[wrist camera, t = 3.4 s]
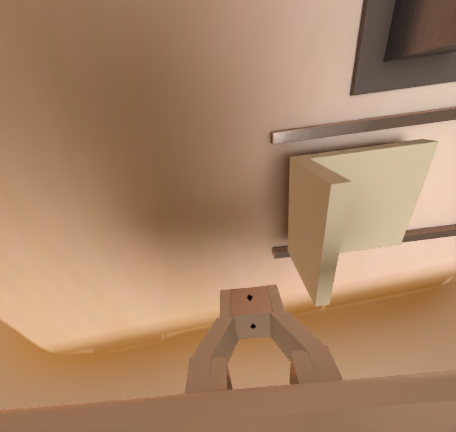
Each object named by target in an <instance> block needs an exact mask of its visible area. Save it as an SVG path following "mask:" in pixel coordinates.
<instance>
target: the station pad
mask: <svg viewBox="0 0 456 432" xmlns="http://www.w3.org/2000/svg"><path fill="white" fill-rule="evenodd" d="M395 2H396V0H364V5H363V11H362V18H361V25H360V32H359V39H358V45H357V52H356V59H355V66H354V72H353V79H352V86H351V93H350V95H358V94H365V93H373V92H380V91H387V90H394V89H402V88H409V87H416V86H424V85H431V84H438V83H445V82H453V81H456V52H451V53H446V54H439V55H431V56H424V57H417V58H410V59H403V60H395V61H388V62H383V61H384V56H385V51H386V46H387V41H388V36H389V31H390V26H391V21H392V16H393V12H394V7H395Z"/></svg>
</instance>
